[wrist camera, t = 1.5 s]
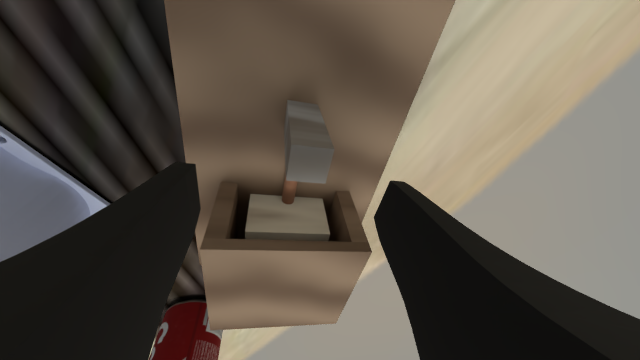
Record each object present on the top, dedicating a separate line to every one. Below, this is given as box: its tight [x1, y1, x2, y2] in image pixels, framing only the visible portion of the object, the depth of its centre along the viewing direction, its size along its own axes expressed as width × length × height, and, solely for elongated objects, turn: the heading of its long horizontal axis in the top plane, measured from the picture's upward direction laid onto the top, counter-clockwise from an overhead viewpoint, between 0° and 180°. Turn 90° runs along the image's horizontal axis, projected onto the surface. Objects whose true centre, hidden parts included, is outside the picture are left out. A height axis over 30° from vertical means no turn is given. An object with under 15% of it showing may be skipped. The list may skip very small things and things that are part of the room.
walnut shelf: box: [164, 0, 455, 330], centre depth 16 cm, size 28×15×7 cm, turn 168°
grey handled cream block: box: [245, 100, 335, 241], centre depth 17 cm, size 14×6×6 cm, turn 168°
